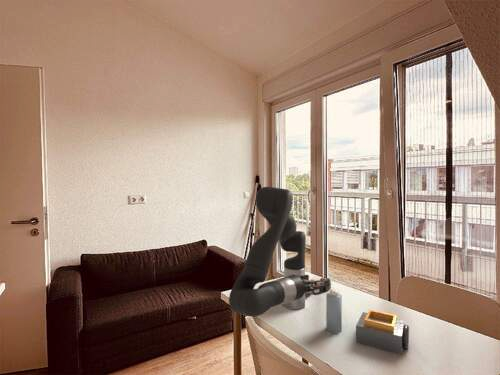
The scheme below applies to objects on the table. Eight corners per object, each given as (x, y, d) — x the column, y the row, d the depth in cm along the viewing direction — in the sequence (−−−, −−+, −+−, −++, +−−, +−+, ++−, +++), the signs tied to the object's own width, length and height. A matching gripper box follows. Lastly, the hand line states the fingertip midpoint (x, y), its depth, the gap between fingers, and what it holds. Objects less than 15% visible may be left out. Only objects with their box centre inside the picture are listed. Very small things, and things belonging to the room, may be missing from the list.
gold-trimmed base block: (355, 342, 101) (356, 319, 101) (363, 327, 112) (363, 306, 111) (406, 356, 93) (407, 331, 93) (409, 339, 104) (409, 316, 103)
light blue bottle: (324, 330, 110) (324, 291, 109) (328, 324, 114) (328, 287, 114) (339, 334, 107) (339, 294, 106) (343, 328, 111) (343, 289, 111)
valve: (309, 284, 164) (335, 286, 155) (285, 302, 143) (313, 305, 134) (307, 273, 164) (333, 274, 155) (283, 289, 143) (311, 291, 134)
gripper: (304, 283, 87) (335, 274, 98) (270, 272, 98) (301, 265, 109) (304, 308, 87) (335, 296, 98) (270, 295, 98) (301, 286, 109)
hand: (317, 280), depth 103 cm, fingers open, 8 cm apart
